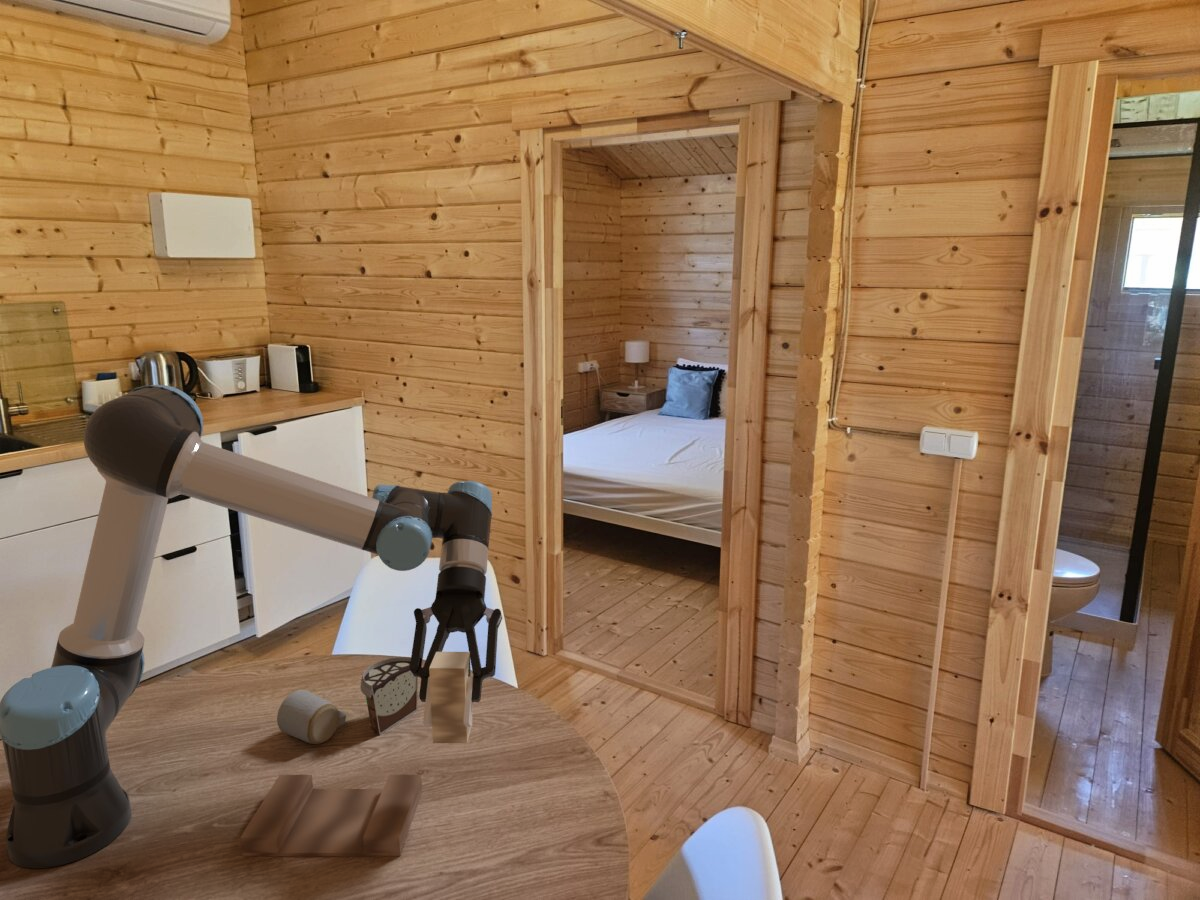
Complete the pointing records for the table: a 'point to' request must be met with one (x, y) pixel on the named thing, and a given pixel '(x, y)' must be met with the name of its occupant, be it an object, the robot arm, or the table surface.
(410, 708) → the food container
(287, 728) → the ceramic mug
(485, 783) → the table surface
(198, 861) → the table surface
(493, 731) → the table surface
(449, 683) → the tall wooden block
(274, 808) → the cradle
